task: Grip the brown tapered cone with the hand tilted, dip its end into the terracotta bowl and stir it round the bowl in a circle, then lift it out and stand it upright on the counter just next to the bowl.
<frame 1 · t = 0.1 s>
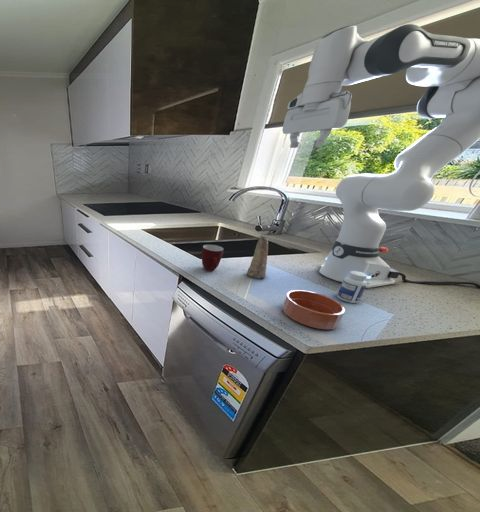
hand: (304, 147, 79), 48 cm above the counter, tool pointing down, fingers open, 8 cm apart
bowl: (308, 316, 74), on the counter
pill bottle: (346, 299, 82), on the counter
mug: (210, 270, 104), on the counter
brown tapered cone: (255, 276, 99), on the counter
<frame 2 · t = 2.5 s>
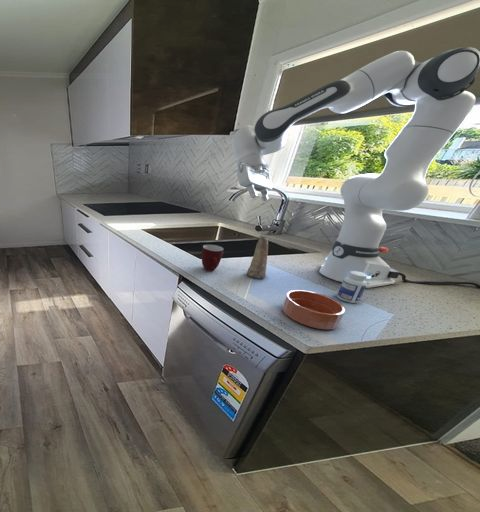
hand: (260, 198, 93), 30 cm above the counter, tool tilted 35°, fingers open, 8 cm apart
nothing on the counter moved.
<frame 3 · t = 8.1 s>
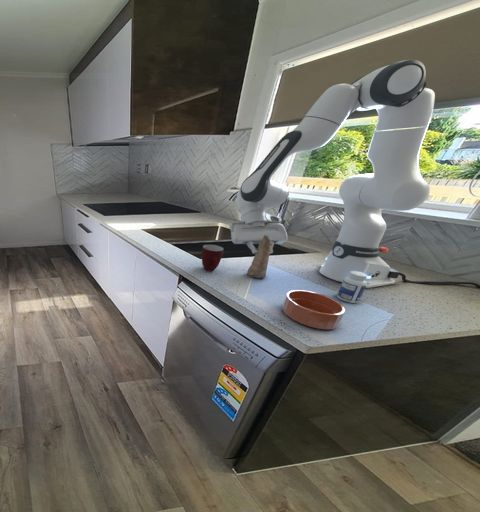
hand: (262, 253, 94), 10 cm above the counter, tool tilted 45°, fingers closed on brown tapered cone, 4 cm apart
brown tapered cone: (255, 276, 99), on the counter, touching gripper
everything else where it was.
when the fingers open (10 cm above the counter, at t = 29.8 s): brown tapered cone stays where it is, on the counter.
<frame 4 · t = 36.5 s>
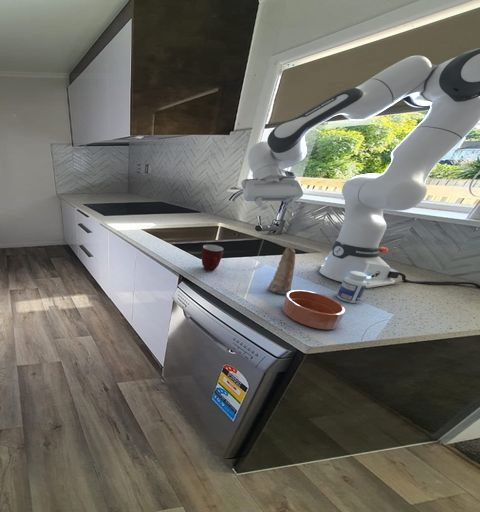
hand: (277, 209, 89), 27 cm above the counter, tool tilted 45°, fingers open, 8 cm apart
brown tapered cone: (279, 291, 88), on the counter
everything else where it was.
at the end: brown tapered cone inside the target area on the counter beside the bowl (0.1 cm from its centre), on the counter; brown tapered cone tilted 0°; the gripper is holding nothing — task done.
